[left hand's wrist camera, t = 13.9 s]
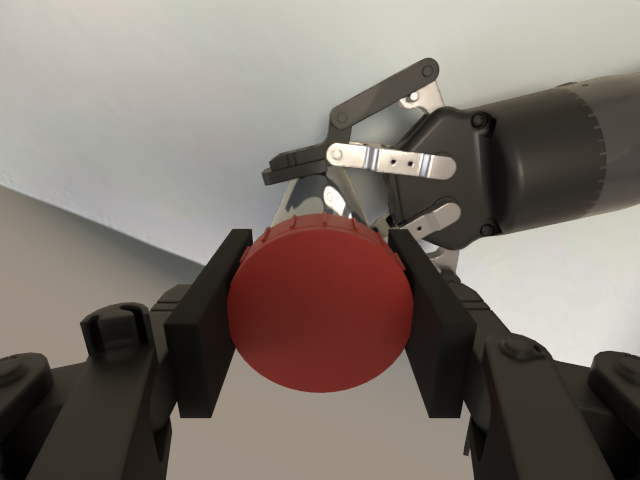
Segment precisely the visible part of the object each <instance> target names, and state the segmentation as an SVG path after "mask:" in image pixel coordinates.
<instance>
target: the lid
mask: <svg viewBox="0 0 640 480" xmlns="http://www.w3.org/2000/svg"><path fill="white" fill-rule="evenodd" d="M240 263H241V265H240V267H239V269H238V270H237V272H236V274H235V276H234V278H233V280H232V282H231V283H230V285H229V286H230V288H229V292H228V296H227V311H228V320H229V329H230V336H231V339H232V341H233V343H234V345H235V347H236V349H237V350H238V352H239V353H240V355H241V356H242V357H243V359H244V360H245V361H246V362H247V363H248V364H249V365H250V366H251V367H252V368H253V369H254V370H256V371H257V372H258V373H259V374H261V375H262V376H264V377H265V378H267V379H269V380H271V381H273V382H275V383H277V384H279V385H282V386H285V387H287V388H290V389H295V390H299V391H305V392H315V393H326V392H336V391H341V390H346V389H350V388H353V387H356V386H359V385H361V384H364V383H366V382H368V381H370V380H372V379H373V378H375V377H377V376H378V375H380V374H381V373H382V372H384V371H385V370H386V369H387V368H388V367H389V366H390V365H392V364H393V363H394V361H395V360H396V359H397V358H398V357H399V356H400V354H401V353H402V351H403V349H404V348H405V346H406V344H407V342H408V340H409V338H410V333H411V324H412V314H413V305H414V298H413V293H412V290H411V287H410V284H409V282H408V280H407V278H406V276H405V274H404V272H403V270H405V267H404V266H403V264H402V262H401V260H400V258H399V256H398V254H397V253H394V252H393V251H392V250H391V248H390V247H389V245H388V244H387V243H386V242H385V241H384V239H383V237H382V235H381V233H380V232H377V233H376V232H374V231H373V230H372V229H370V228H369V227H367V226H365V225H364V224H362V223H360V222H358V221H357V220H356V218H354V217H353V218H352V219H350V218H347V217H343V216H340V215H333V214H326V211H323V214H318V213H317V214H307V215H301V216H296V214H295V215H293V216H292V218H290V219H288V220H285V221H283V222H281V223H279V224H277V225H275V226H273V227H272V228H270V227H267V228H266V230H265V232H264V233H263V234H262V235H261V236H260V237H259V238H258V239H257V240H256V241H255V242H254V244H253V245H252V246H251V247H249V246H248V247H247V249H246V250H245V252H244V254H243V256H242V258H241V260H240Z"/></svg>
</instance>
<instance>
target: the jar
mask: <svg viewBox="0 0 640 480" xmlns="http://www.w3.org/2000/svg"><path fill="white" fill-rule="evenodd" d="M327 169H328V171H327V172H323V173H319V174H314V175H309V176H306V177H302V178H297V179H293V180H290V181H289V184H288V186H287V188H286V191H285V193H284V196H283V198H282V200H281V203H280V205H279V207H278V210H277V212H276V214H275V217H274V219H273V221H272V224H271V226H270V228H272V227H273V226H275V225H277V224H279V223H281V222H283V221H285V220H288V219H290V218H292V216H293V215H295V214H296V216H301V215H307V214H317V213H318V214H323V211H326V214H333V215H340V216H343V217H347V218H350V219H352V218H353V217H354V218H356V220H357V221H358V222H360V223H362V224H364V225H365V226H367V227H369V228H370V225H369V223H368V220H367V218H366V216H365V213H364V211H363V209H362V206H361V204H360V202H359V199H358V197H357V195H356V192H355V190H354V188H353V185H352V183H351V181H350V178H349V176H348V174H347V172H346V170H345V169H344V168H343V167H342V166H335V165H334V166H329V167H327ZM370 229H371V228H370Z"/></svg>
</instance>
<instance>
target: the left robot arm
mask: <svg viewBox="0 0 640 480" xmlns="http://www.w3.org/2000/svg"><path fill="white" fill-rule="evenodd" d="M252 245H253V239H252V229H232V231H231V232H230V233H229V235H228V236H227V237H226V239H225V240H224V242H223V243H222V244H221V246H220V247H219V248H218V250H217V251H216V253H215V254H214V255H213V257H212V258H211V259H210V261H209V262H208V264H207V265H206V266H205V268H204V269H203V270H202V272H201V273H200V274H199V276H198V277H197V279H196V280H195V281H194V283H193V284H192V285H176V286H175V287H173V288H171V289H170V290H168V291H166V292H165V293H164V294H163V295H162V296H161V298H160V299H159V300H158V301H157V304H155V305H154V306H153V307H152V308H151V310H150V312H149V310H148V308H147V307H146V306H145V305H143V304H139V303H135V302H131V303H119V304H114V305H110V306H107V307H104V308H102V309H99V310H97V311H95V312H93V313H91V314H90V315H88V316H86V317H85V318H84V319H83V320H82V321H81V322H80V325H81V329H82V332H83V336H84V339H85V343H86V347H87V350H88V354H89V356H88V358H87V360H86V362H83V363H79V364H74V365H69V366H64V367H59V368H54V369H50V366H49V363H48V360H47V358H46V357H45V356H44V355H42V354H40V353H23V354H16V355H11V356H10V357H5V358H2V359H0V480H166V474H167V466H168V459H169V451H170V444H171V436H172V427H171V421H170V414H171V412H172V410H173V408H174V406H175V404H176V402H178V408H179V413H180V418H211V416H212V414H213V411H214V408H215V405H216V402H217V399H218V397H219V394H220V391H221V388H222V385H223V382H224V380H225V377H226V374H227V371H228V368H229V366H230V363H231V360H232V357H233V354H234V351H235V349H236V347H235V345H234V343H233V341H232V339H231V336H230V329H229V320H228V311H227V296H228V292H229V288H230V286H229V285H230V283H231V282H232V280H233V278H234V276H235V274H236V272H237V270H238V269H239V267H240V265H241V263H240V260H241V258H242V256H243V254H244V252H245V250H246V249H247V247H248V246H249V247H251V246H252ZM388 245H389V247H390V248H391V250H392V251H393V252H394V253H397V254H398V256H399V258H400V260H401V262H402V264H403V266H404V267H405V270H403V272H404V274H405V276H406V278H407V280H408V282H409V284H410V287H411V290H412V293H413V298H414V305H413V314H412V324H411V333H410V338H409V340H408V342H407V344H406V346H405V350H406V353H407V356H408V359H409V361H410V364H411V367H412V370H413V373H414V376H415V379H416V381H417V384H418V387H419V390H420V393H421V396H422V398H423V401H424V404H425V407H426V410H427V412H428V415H429V418H460V415H461V410H462V405H463V400H464V402H465V404H466V406H467V408H468V410H469V412H470V414H471V416H470V421H469V426H468V431H467V436H466V441H465V446H464V454H463V455H466V456H468V455H469V450H471V458H472V465H473V472H474V480H640V357H638V356H635V355H631V354H628V353H624V352H615V351H605V352H599V353H598V354H597V355H595V356H594V359H593V362H592V365H591V368H590V367H585V366H580V365H575V364H570V363H565V362H560V361H556V360H553V358H552V356H551V354H550V353H549V352H548V351H547V349H546V348H545V347H543V346H542V345H541V344H539V343H538V342H536V341H534V340H532V339H530V338H528V337H525V336H523V335H519V334H515V333H511V332H510V331H509V330H508V328H507V327H506V326H505V325H504V324H503V323H502V321H501V320H500V319H499V318H498V317H497V316H496V314H495V313H494V312H493V311H492V310H490V307H489V306H488V305H487V304H486V303H485V302H484V300H483V299H482V298H481V297H480V296H479V295H478V293H477V292H476V291H474V290H473V289H471V288H469V287H468V286H466V285H464V284H463V283H447V282H446V281H445V279H444V278H443V277H442V275H441V274H440V273H439V271H438V270H437V268H436V267H435V266H434V264H433V263H432V262H431V260H430V259H429V257H428V256H427V255H426V253H425V252H424V251H423V249H422V248H421V247H420V245H419V244H418V242H417V241H416V240H415V238H414V237H413V236H412V234H411V233H410V231H409V230H408V229H389V230H388Z"/></svg>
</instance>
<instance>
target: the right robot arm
mask: <svg viewBox="0 0 640 480" xmlns="http://www.w3.org/2000/svg"><path fill="white" fill-rule="evenodd" d="M438 74H439V65H438V63H437V62H436V61H435V60H434V59H432V58H425V59H423V60H421V61H419V62H417V63H414V64H412V65H410V66H409V67H407V68H405V69H403V70H401V71H400V72H398V73H396V74H394V75H392V76H391V77H389V78H387V79H385V80H383V81H382V82H380V83H378V84H376V85H374V86H373V87H371V88H369V89H367V90H365V91H363V92H362V93H360V94H358V95H356V96H354V97H353V98H351V99H349V100H347V101H345V102H344V103H342V104H340V105H338V106H336V107H335V108H333V109H332V111H331V112H330V119H329V127H328V134H327V137H326V139H325V140H324V141H323V142H322V143H320V144H317V145H313V146H309V147H305V148H301V149H297V150H292V151H289V152H284V153H280V154H278V155H277V156H276V157H274V158H273V159H272V160H271V161H270V162H269V164H270V168H267V169H265V170H264V171H263V172H262V177H263V180H264V183H265V185H272V184H276V183H280V182H285V181H289V180H293V179H297V178H302V177H306V176H309V175H314V174H319V173H323V172H327V171H328V169H327V167H329V166H334V165H335V166H343V167H352V168H361V169H367V170H371V171H376V172H383V178H384V181H385V183H386V185H387V187H388V189H389V197H388V207H389V213H387V214H385V215H384V216H382V217H380V218H378V219H377V220H376V221H375V222H374V224H373V225H371V226H370V228H371V229H372V230H373V231H374V232H376V233H377V232H380V233H381V235H382V237H383V239H384V241H385V242H386V243H387V244H388V230H389V229H408V230H409V231H410V233H411V234H412V236H413V237H414V238H415V240H416V241H418V240H420V239H422V240H425V241H427V242H430V243H432V244H435V245H437V246H440V247H439V248H438V249H437V250H436V251H434V252H431V253H426V255H427V256H428V257H429V259H430V260H431V262H432V263H433V264H434V266H435V267H436V268H437V270H438V271H439V273H440V274H441V275H442V277H443V278H444V279H445V281H446V282H447V283H461V280H460V279H459V277H458V276H457V275H456V267H457V261H458V255H459V250H461V249H463V248H465V247H467V246H468V245H469V244H471V243H472V242H474V241H475V240H477V239H479V238H482V237H487V236H498V235H505V234H510V233H514V232H519V231H524V230H528V229H533V228H538V227H543V226H547V225H552V224H557V223H561V222H566V221H571V220H575V219H580V218H584V217H589V216H594V215H599V214H604V213H609V212H613V211H617V210H621V209H625V208H628V207H631V206H634V205H637V204H640V72H639V73H632V74H622V75H613V76H605V77H600V78H595V79H591V80H587V81H583V82H573V83H572V82H570V83H566V84H563V85H560V86H557V87H555V88H554V89H549V90H545V91H541V92H537V93H533V94H529V95H525V96H521V97H517V98H512V99H508V100H504V101H500V102H496V103H492V104H488V105H484V106H480V107H475V108H471V109H466V110H460V109H457V108H454V107H450V106H445V104H444V102H443V99H442V96H441V94H440V91H439V88H438V86H437V83H436V78H437V77H438ZM395 102H397V103H398V105H399V106H400V107H401V108H403V109H413V108H416V107H418V108H420V109H422V110H423V112H424V113H425V114H424V115H423V116H422V117H421V118H420V119H419V120H418V122H417V123H416V124H415V125H414V126H413V127H412V128H411V129H410V130H409V131H408V133H407V134H406V135H405V136H404V137H403V138H402V139H401V140H400V141H399V142H398V143H397V145H396V146H394V145H385V144H376V143H362V142H353V141H350V134H351V128H352V126H353V125H355V124H356V123H358V122H360V121H362V120H364V119H366V118H367V117H369V116H371V115H373V114H375V113H377V112H379V111H380V110H382V109H384V108H386V107H388V106H390V105H392V104H393V103H395Z"/></svg>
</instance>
